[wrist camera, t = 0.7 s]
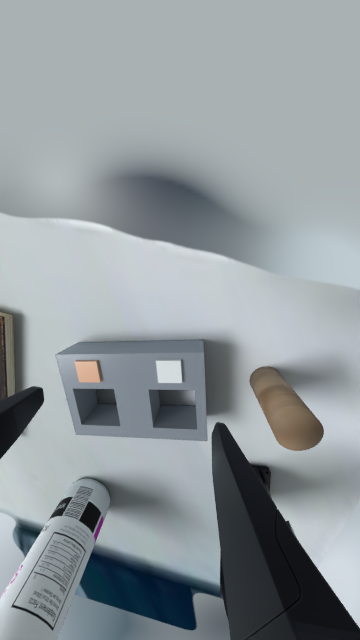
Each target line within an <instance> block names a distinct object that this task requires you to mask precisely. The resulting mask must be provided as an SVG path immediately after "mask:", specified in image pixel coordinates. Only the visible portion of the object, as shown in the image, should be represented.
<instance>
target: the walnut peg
mask: <svg viewBox="0 0 360 640" xmlns="http://www.w3.org/2000/svg"><path fill="white" fill-rule="evenodd" d="M250 384H251V387H252V389H253V391H254V393H255V395H256V397H257V399H258V402H259V404H260V406H261V408H262V410H263V412H264V414H265V416H266V419H267V421H268V423H269V425H270V427H271V429H272V431H273V433H274V436H275V438H276V440H277V441H278V443H279V444H280V445H282V446H283V447H285V448H287V449H290V450H295V451H302V450H307V449H310V448H312V447H314V446H316V445H317V444H318V443H319V442H320V441H321V439H322V437H323V434H324V430H323V426H322V424H321V423H320V421H319V420H318V419H317V418H316V417H315V415H314V414H313V413H312V412H311V411H310V409H309V408H308V407H307V406H306V405H305V403H304V402H303V401H302V400H301V398H300V397H299V396H298V395H297V394H296V392H295V391H294V390H293V389H292V388H291V386H290V385H289V384H288V383H287V382H286V380H285V379H284V378H283V377H282V376H281V374H280V373H279V372H278V371H277V370H276V369H274V368H271V367H261V368H258V369H256V370H255V371H254V372H253V373H252V374H251V377H250Z"/></svg>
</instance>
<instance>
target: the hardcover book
mask: <svg viewBox="0 0 360 640" xmlns="http://www.w3.org/2000/svg"><path fill="white" fill-rule="evenodd" d="M14 394H15V371H14V331H13V315H10V314H6V313H3V312H0V400H3V399H5V398H7V397H9V396H12V395H14Z"/></svg>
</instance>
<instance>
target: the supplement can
mask: <svg viewBox="0 0 360 640" xmlns="http://www.w3.org/2000/svg"><path fill="white" fill-rule="evenodd" d="M110 503H111V502H110V497H109V492H108V490H107V489H106V487H105V486H104V485H102V484H101V483H100V482H98V481H96V480H93V479H89V478H86V479H80V480H78V481H76V482H74V483H72V484H71V486H70V487H69V488H68V490H67V491H66V493H65V495H64V496H63V498H62V499H61V501H60V503H59V504H58V506H57V507H56V509H55V511H54V512H53V514H52V515H51V517H50V519H49V520H48V522H47V523H46V525H45V527H44V528H43V530H42V532H41V533H40V535H39V536H38V538H37V540H36V541H35V543H34V544H33V546H32V548H31V549H30V551H29V552H28V554H27V556H26V557H25V559H24V560H23V562H22V564H21V565H20V567H19V568H18V570H17V572H16V573H15V575H14V576H13V578H12V580H11V581H10V583H9V584H8V586H7V588H6V589H5V591H4V592H3V594H2V596H1V597H0V640H57V638H58V635H59V633H60V630H61V627H62V625H63V622H64V620H65V617H66V615H67V612H68V610H69V607H70V605H71V602H72V600H73V597H74V595H75V592H76V590H77V587H78V585H79V582H80V580H81V577H82V574H83V572H84V569H85V567H86V564H87V562H88V559H89V557H90V554H91V552H92V549H93V547H94V544H95V542H96V539H97V537H98V534H99V532H100V529H101V526H102V524H103V521H104V519H105V516H106V514H107V511H108V509H109V506H110Z"/></svg>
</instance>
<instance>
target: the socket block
mask: <svg viewBox="0 0 360 640" xmlns="http://www.w3.org/2000/svg"><path fill="white" fill-rule="evenodd" d="M56 359H57V363H58V367H59V371H60V375H61V379H62V382H63V386H64V390H65V394H66V398H67V402H68V406H69V409H70V413H71V417H72V421H73V425H74V429H75V432H76V435H94V436H114V437H134V438H154V439H174V440H195V441H207V416H206V390H205V364H204V342H203V340H164V341H124V342H84V343H76V344H74V345H73V346H71V347H69V348H67V349H65V350H63V351H61V352H59V353H58V354H56ZM95 389H114V392H115V398H116V403H117V404H98V399H97V394H96V390H95ZM159 390H195V398H196V406H172V405H160V398H159Z"/></svg>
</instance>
